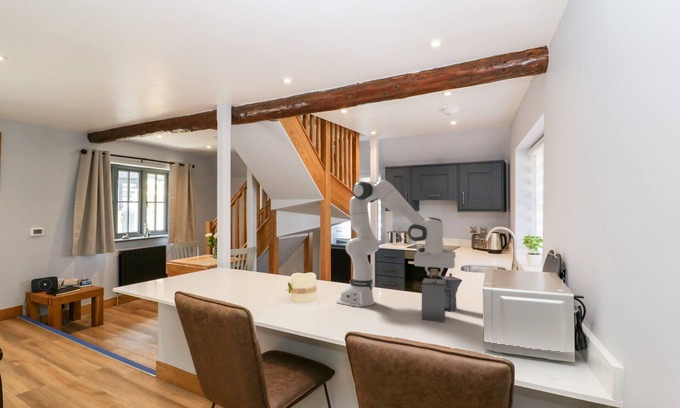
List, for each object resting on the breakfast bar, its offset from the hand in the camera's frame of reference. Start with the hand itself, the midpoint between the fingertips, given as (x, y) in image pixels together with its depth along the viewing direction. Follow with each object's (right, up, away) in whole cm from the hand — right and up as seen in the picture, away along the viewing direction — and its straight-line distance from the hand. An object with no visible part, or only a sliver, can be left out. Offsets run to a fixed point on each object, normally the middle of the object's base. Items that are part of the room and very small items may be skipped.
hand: (434, 275), depth 181 cm
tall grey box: (+1, -22, -1) cm, 22 cm away
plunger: (0, -20, 0) cm, 20 cm away
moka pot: (+12, -22, +17) cm, 30 cm away
